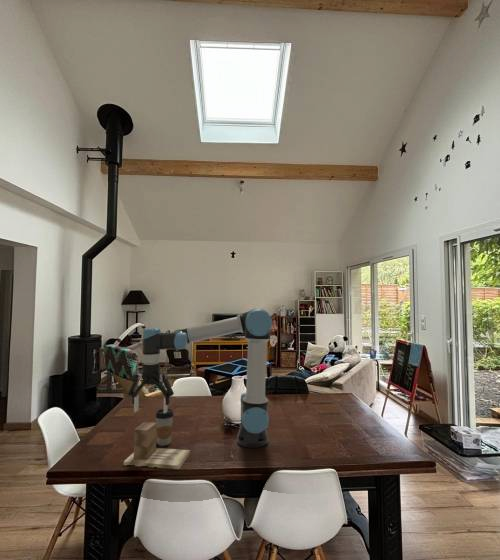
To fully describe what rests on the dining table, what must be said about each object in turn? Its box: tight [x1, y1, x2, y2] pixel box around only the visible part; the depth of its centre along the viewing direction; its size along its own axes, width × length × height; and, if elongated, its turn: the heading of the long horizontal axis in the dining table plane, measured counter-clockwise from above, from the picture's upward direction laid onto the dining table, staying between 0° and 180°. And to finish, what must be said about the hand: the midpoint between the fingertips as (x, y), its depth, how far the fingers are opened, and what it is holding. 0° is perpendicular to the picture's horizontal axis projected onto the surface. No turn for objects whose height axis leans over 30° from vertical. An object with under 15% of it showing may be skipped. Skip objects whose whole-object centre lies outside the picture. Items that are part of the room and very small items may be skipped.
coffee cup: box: [155, 408, 174, 447], centre depth 157 cm, size 8×8×15 cm
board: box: [123, 447, 191, 470], centre depth 140 cm, size 24×14×2 cm, turn 82°
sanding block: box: [133, 421, 157, 460], centre depth 142 cm, size 6×9×12 cm, turn 172°
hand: (150, 411), depth 144 cm, fingers open, 13 cm apart
